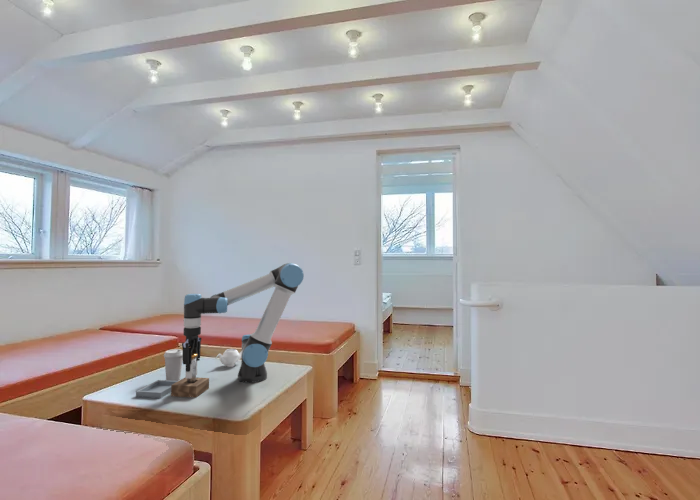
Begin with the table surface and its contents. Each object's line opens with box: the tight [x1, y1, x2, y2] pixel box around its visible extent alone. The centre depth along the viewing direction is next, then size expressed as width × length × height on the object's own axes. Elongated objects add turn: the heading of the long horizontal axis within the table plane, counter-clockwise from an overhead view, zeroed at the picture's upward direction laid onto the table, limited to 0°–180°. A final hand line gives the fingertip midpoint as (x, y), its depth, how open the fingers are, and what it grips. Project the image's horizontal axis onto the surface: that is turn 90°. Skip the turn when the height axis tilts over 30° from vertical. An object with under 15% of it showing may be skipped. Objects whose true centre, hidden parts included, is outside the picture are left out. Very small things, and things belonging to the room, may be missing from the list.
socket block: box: [170, 376, 210, 399], centre depth 171 cm, size 12×12×5 cm
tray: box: [135, 379, 178, 399], centre depth 172 cm, size 12×16×2 cm
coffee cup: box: [163, 348, 183, 381], centre depth 188 cm, size 10×10×15 cm
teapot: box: [215, 348, 242, 368], centre depth 215 cm, size 10×20×9 cm, turn 140°
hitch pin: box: [187, 353, 198, 384], centre depth 172 cm, size 5×5×17 cm
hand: (191, 376), depth 172 cm, fingers closed on hitch pin, 4 cm apart
